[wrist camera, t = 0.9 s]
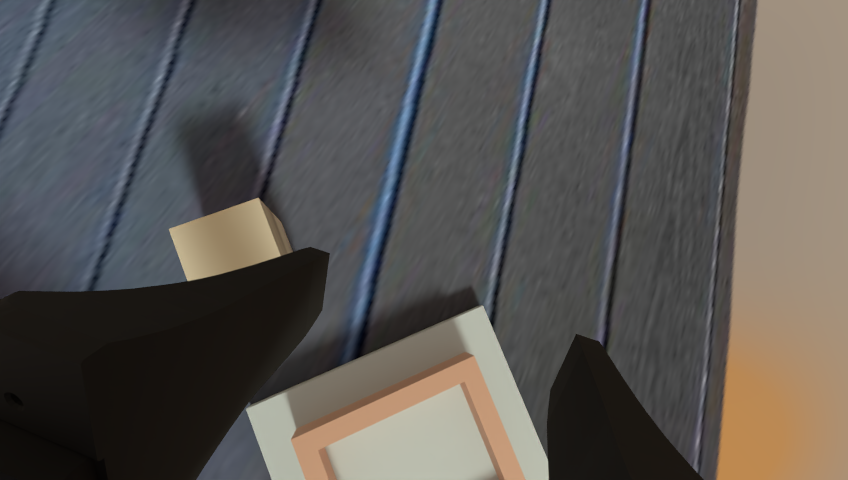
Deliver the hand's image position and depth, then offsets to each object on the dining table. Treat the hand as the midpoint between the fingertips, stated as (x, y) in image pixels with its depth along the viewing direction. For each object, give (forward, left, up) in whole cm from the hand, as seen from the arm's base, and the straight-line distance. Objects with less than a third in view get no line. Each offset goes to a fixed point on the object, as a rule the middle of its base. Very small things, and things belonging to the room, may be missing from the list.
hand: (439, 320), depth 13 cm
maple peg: (-6, +6, -14) cm, 16 cm away
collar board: (-2, -8, -14) cm, 17 cm away
